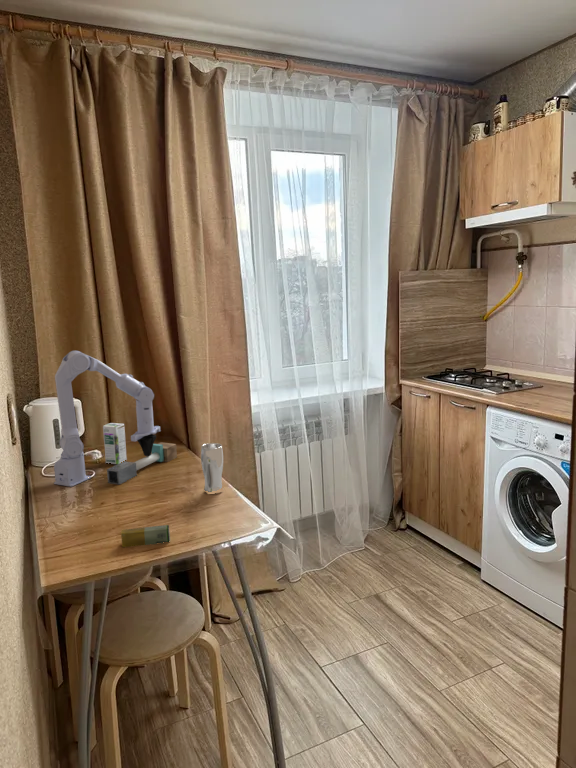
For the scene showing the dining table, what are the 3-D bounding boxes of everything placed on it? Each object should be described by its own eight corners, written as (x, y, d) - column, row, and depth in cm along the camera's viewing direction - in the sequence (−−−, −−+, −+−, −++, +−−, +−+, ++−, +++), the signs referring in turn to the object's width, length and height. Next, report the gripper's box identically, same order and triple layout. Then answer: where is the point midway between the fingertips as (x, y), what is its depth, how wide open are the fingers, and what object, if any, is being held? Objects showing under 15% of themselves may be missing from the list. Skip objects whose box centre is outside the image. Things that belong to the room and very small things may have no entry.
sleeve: (119, 484, 182) (118, 470, 182) (108, 482, 184) (106, 469, 183) (136, 475, 190) (135, 462, 190) (125, 474, 192) (124, 461, 192)
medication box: (170, 538, 143) (169, 524, 143) (170, 543, 141) (169, 528, 140) (122, 543, 141) (121, 528, 141) (121, 548, 139) (120, 533, 138)
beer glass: (198, 494, 173) (196, 448, 170) (208, 486, 179) (206, 442, 177) (219, 496, 171) (217, 449, 168) (228, 488, 177) (226, 443, 175)
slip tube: (135, 474, 190) (134, 457, 189) (126, 473, 192) (125, 456, 191) (168, 458, 208) (167, 442, 207) (160, 457, 210) (159, 441, 209)
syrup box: (105, 463, 204) (101, 425, 202) (114, 458, 210) (111, 422, 207) (118, 464, 203) (115, 426, 200) (127, 460, 208) (124, 422, 206)
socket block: (167, 461, 205) (166, 448, 204) (152, 459, 208) (151, 446, 207) (176, 457, 210) (176, 444, 209) (161, 455, 213) (160, 442, 212)
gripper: (141, 424, 189) (144, 462, 191) (166, 415, 202) (168, 450, 204) (124, 423, 192) (127, 460, 194) (150, 413, 205) (152, 448, 207)
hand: (147, 455), depth 199 cm, fingers closed
